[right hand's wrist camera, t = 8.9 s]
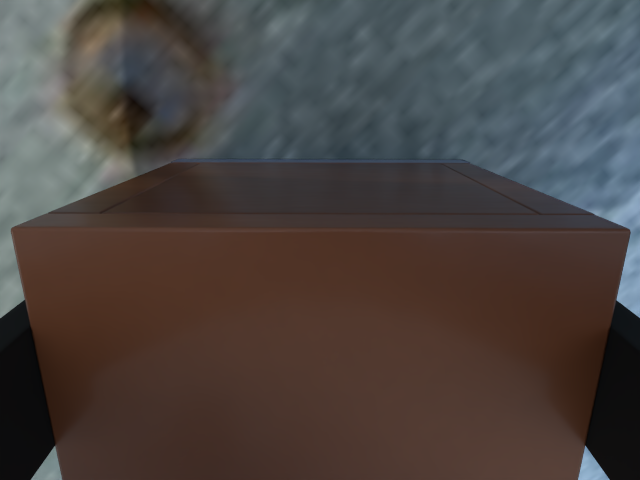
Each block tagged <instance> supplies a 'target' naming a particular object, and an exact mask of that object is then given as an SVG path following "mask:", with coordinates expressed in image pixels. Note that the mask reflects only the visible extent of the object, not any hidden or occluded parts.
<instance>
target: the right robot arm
mask: <svg viewBox="0 0 640 480" xmlns="http://www.w3.org/2000/svg"><path fill="white" fill-rule="evenodd" d="M585 445H586V447H587V448H588V450H589V451H590V452H591V454H592V455H593V457H594V458H595V459H596V461H597V462H598V464H599V465H600V467H601V468H602V469H603V471H604V472H605V474H606V475H607V476H608V478H609V479H610V480H640V318H639V317H638V316H636V315H635V314H634V313H632V312H631V311H630V310H628V309H627V308H626V307H624V306H623V305H622V304H621V303H619V302H618V301H617V300H616V303H615V308H614V313H613V317H612V322H611V327H610V331H609V336H608V341H607V346H606V350H605V355H604V360H603V364H602V369H601V374H600V378H599V383H598V388H597V392H596V397H595V402H594V406H593V411H592V416H591V421H590V425H589V430H588V435H587V439H586V444H585ZM54 446H55V442H54V437H53V432H52V427H51V422H50V418H49V413H48V408H47V403H46V398H45V393H44V389H43V384H42V379H41V374H40V369H39V364H38V360H37V355H36V350H35V345H34V340H33V336H32V331H31V326H30V321H29V316H28V311H27V307H26V302H25V300H24V301H23V302H21V303H20V304H19V305H17V306H16V307H15V308H13V309H12V310H11V311H10V312H8V313H7V314H6V315H4V316H3V317H2V318H0V480H31V478H32V477H33V476H34V474H35V473H36V471H37V470H38V469H39V467H40V466H41V464H42V463H43V462H44V460H45V459H46V457H47V456H48V455H49V453H50V452H51V450H52V449H53V448H54Z"/></svg>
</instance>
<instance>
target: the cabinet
mask: <svg viewBox="0 0 640 480" xmlns="http://www.w3.org/2000/svg"><path fill="white" fill-rule="evenodd" d="M11 234H12V239H13V244H14V249H15V254H16V258H17V263H18V268H19V273H20V278H21V282H22V287H23V292H24V297H25V302H26V307H27V311H28V316H29V321H30V326H31V331H32V336H33V340H34V345H35V350H36V355H37V360H38V364H39V369H40V374H41V379H42V384H43V389H44V393H45V398H46V403H47V408H48V413H49V418H50V422H51V427H52V432H53V437H54V442H55V446H56V451H57V456H58V461H59V466H60V471H61V475H62V480H578V477H579V472H580V467H581V463H582V458H583V453H584V449H585V444H586V439H587V435H588V430H589V425H590V421H591V416H592V411H593V406H594V402H595V397H596V392H597V388H598V383H599V378H600V374H601V369H602V364H603V360H604V355H605V350H606V346H607V341H608V336H609V331H610V327H611V322H612V317H613V313H614V308H615V303H616V299H617V294H618V289H619V285H620V280H621V275H622V271H623V266H624V261H625V256H626V252H627V247H628V242H629V238H630V230H629V229H628V228H625V227H623V226H621V225H618V224H616V223H613V222H611V221H608V220H606V219H604V218H601V217H599V216H596V215H594V214H593V213H590V212H588V211H585V210H583V209H580V208H578V207H575V206H573V205H571V204H568V203H566V202H563V201H561V200H558V199H556V198H553V197H551V196H549V195H546V194H544V193H541V192H539V191H536V190H534V189H531V188H529V187H527V186H524V185H522V184H519V183H517V182H514V181H512V180H509V179H507V178H504V177H502V176H500V175H497V174H495V173H492V172H490V171H487V170H485V169H482V168H480V167H478V166H475V165H473V164H470V162H467V161H465V160H347V159H177V160H175V161H172V162H171V163H170V164H167V165H165V166H162V167H160V168H157V169H155V170H152V171H150V172H148V173H145V174H143V175H140V176H138V177H135V178H133V179H130V180H128V181H125V182H123V183H120V184H118V185H115V186H113V187H110V188H108V189H106V190H103V191H101V192H98V193H96V194H93V195H91V196H88V197H86V198H83V199H81V200H78V201H76V202H73V203H71V204H69V205H66V206H64V207H61V208H59V209H56V210H54V211H51V212H49V213H48V214H44V215H42V216H39V217H37V218H34V219H32V220H29V221H27V222H24V223H22V224H20V225H17V226H15V227H12V229H11Z"/></svg>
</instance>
